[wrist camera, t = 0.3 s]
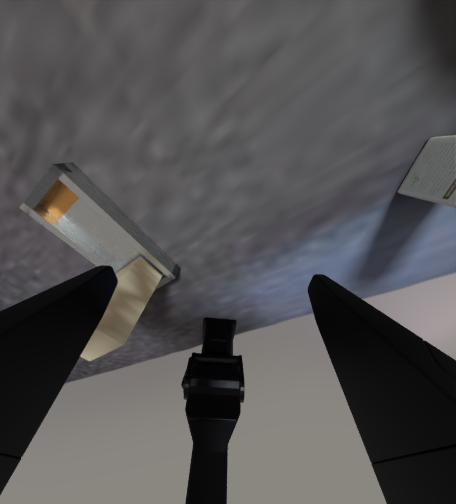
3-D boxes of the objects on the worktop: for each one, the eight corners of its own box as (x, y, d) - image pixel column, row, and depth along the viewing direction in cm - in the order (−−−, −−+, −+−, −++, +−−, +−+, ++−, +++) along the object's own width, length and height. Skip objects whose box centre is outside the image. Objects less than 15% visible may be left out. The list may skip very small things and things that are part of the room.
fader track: (180, 267, 27) (176, 277, 25) (146, 288, 29) (140, 298, 27) (72, 162, 19) (53, 164, 17) (39, 202, 22) (19, 207, 19)
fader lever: (165, 270, 25) (123, 345, 16) (140, 286, 27) (89, 361, 17) (144, 252, 23) (84, 322, 14) (119, 269, 25) (50, 342, 16)
